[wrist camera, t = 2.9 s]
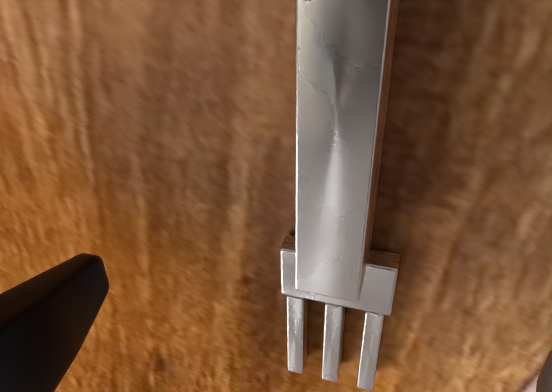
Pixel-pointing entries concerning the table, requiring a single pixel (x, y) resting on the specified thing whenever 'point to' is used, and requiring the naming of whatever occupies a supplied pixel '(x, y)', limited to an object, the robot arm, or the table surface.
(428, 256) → the table surface
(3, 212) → the table surface
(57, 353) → the robot arm
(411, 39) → the table surface
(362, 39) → the fork
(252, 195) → the table surface
